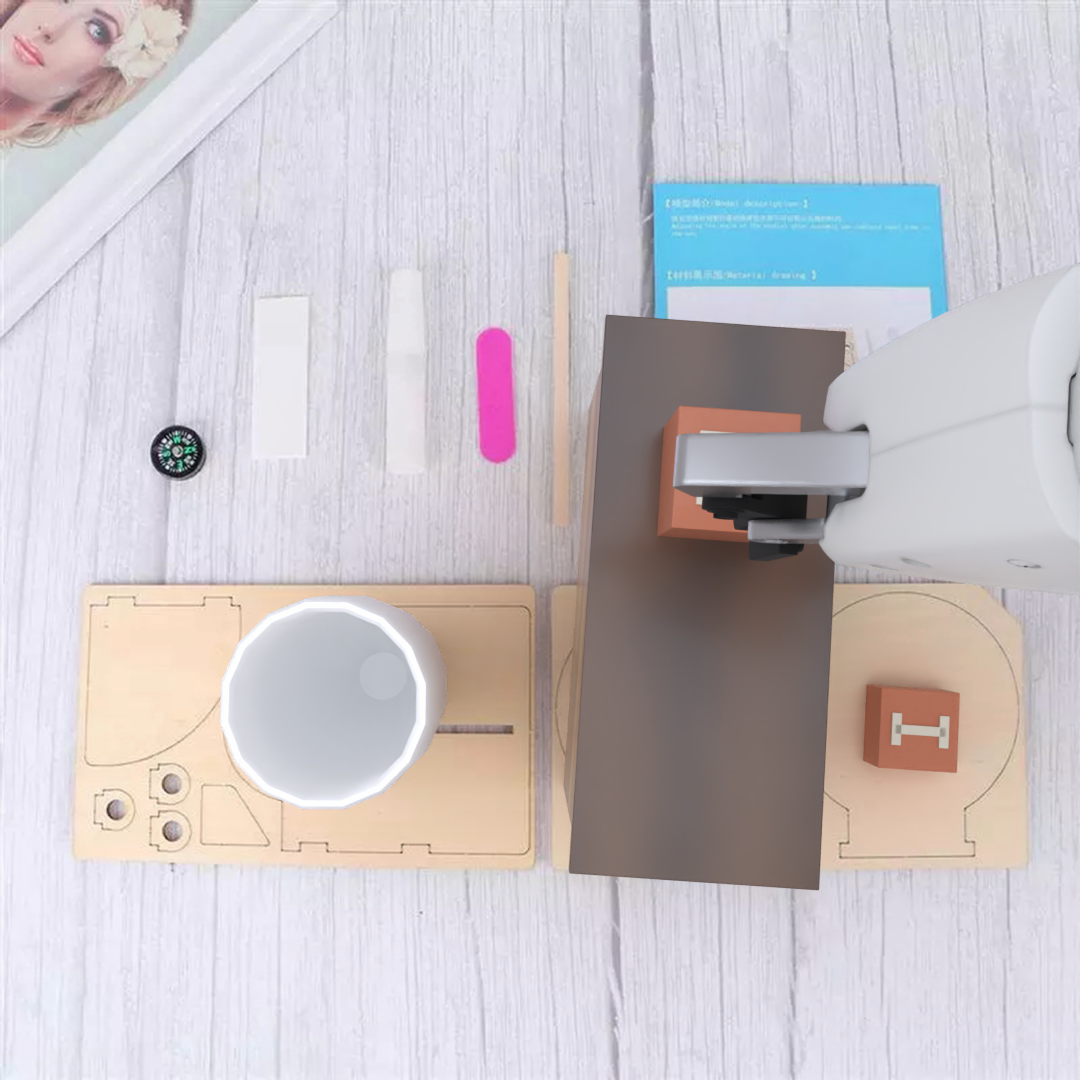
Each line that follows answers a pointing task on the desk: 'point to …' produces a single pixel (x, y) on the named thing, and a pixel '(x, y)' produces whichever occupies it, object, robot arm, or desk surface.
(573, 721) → the stand
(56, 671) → the desk surface
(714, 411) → the tile
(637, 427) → the word board
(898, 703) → the tile
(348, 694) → the cup
